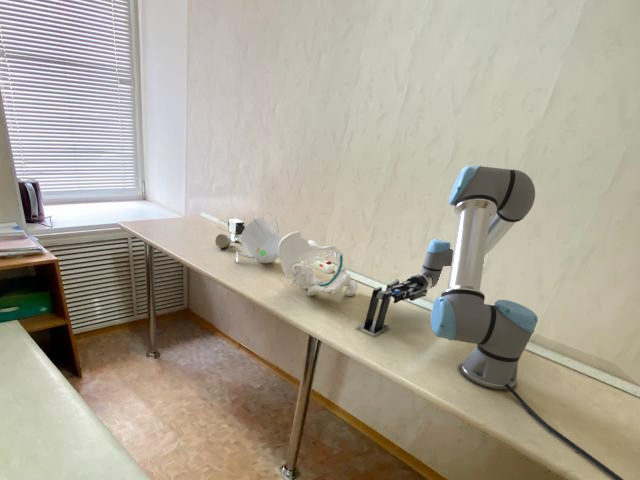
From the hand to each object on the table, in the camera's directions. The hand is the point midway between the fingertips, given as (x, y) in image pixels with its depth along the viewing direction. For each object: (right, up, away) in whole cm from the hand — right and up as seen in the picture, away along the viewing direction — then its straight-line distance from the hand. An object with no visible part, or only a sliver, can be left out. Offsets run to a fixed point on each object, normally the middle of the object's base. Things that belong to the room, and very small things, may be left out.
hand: (389, 297), depth 148 cm
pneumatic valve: (-59, +45, +80) cm, 109 cm away
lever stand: (-6, -11, +1) cm, 13 cm away
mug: (-65, +38, +70) cm, 103 cm away
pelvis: (-23, +8, +28) cm, 37 cm away
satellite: (-45, +27, +55) cm, 77 cm away
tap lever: (-1, -1, 0) cm, 1 cm away
